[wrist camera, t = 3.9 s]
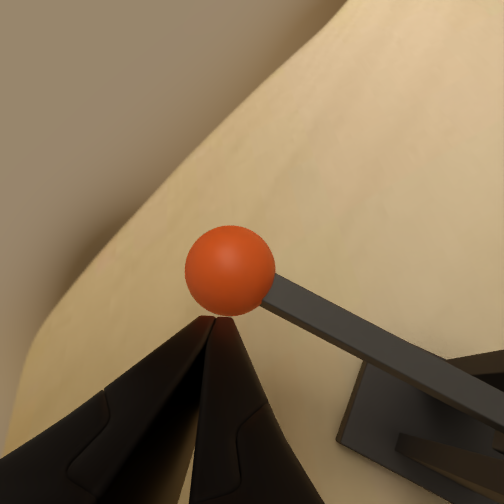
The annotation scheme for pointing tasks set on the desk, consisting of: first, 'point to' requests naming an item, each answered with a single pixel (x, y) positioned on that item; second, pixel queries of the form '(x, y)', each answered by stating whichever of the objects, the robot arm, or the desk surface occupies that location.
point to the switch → (326, 321)
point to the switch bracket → (427, 433)
